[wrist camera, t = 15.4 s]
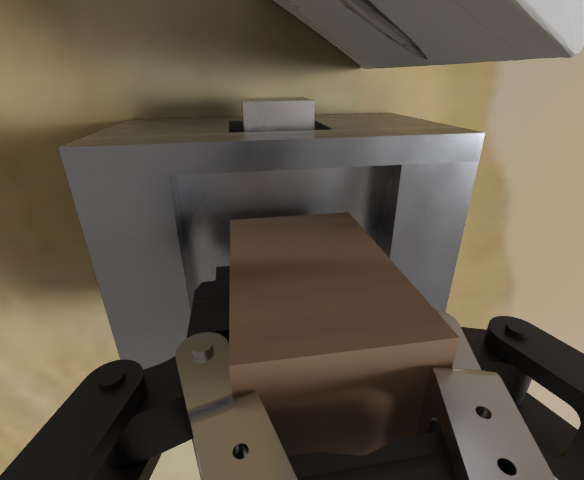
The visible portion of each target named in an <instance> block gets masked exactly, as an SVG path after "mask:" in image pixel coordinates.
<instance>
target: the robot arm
mask: <svg viewBox="0 0 584 480" xmlns="http://www.w3.org/2000/svg"><path fill="white" fill-rule="evenodd" d="M229 298H230V266H221V267H216V279H215V281H207V282H202V283H201V284H200V285H199V286H198V287H197V289H196V290H195V292H194V297H193V303H192V310H191V315H190V321H189V326H188V332H187V338H186V339H185V340H184V341H183V342H182V343H181V344H180V345H179V346H178V348H177V350H176V353H175V356H174V357H172V358H171V359H169V360H167V361H165V362H163V363H161V364H158V365H155V366H152V367H150V368H147V369H144V370H143V368H142V366H141V365H140V364H139V363H137V362H136V361H133V360H116V361H112V362H109V363H107V364H104V365H102V366H100V367H99V368H97V369H95V370H94V371H93V372H91V373H90V374H89V375H88V376H87V377H86V378H85V379H84V380H83V382H82V383H81V384H80V385H79V386H78V387H77V388H76V390H75V391H74V392H73V393H72V394H71V395H70V396H69V398H68V399H67V400H66V401H65V402H64V403H63V404H62V406H61V407H60V408H59V409H58V410H57V411H56V412H55V414H54V415H53V416H52V417H51V418H50V419H49V420H48V422H47V423H46V424H45V425H44V426H43V427H42V428H41V430H40V431H39V432H38V433H37V434H36V435H35V436H34V438H33V439H32V440H31V441H30V442H29V443H28V444H27V446H26V447H25V448H24V449H23V450H22V451H21V452H20V454H19V455H18V456H17V457H16V458H15V459H14V461H13V462H12V463H11V464H10V465H9V466H8V467H7V469H6V470H5V471H4V472H3V473H2V474H1V475H0V480H149V479H150V477H151V475H152V473H153V471H154V469H155V467H156V465H157V462H158V460H159V458H160V456H161V453H163V452H165V451H167V450H169V449H171V448H173V447H175V446H178V445H180V444H182V443H184V442H186V441H188V440H190V439H192V442H193V446H194V451H195V455H196V460H197V464H198V469H199V473H200V478H201V480H556V479H555V477H556V478H557V479H558V480H584V354H583V353H581V352H580V351H578V350H576V349H574V348H573V347H571V346H569V345H567V344H566V343H564V342H562V341H560V340H558V339H557V338H555V337H553V336H552V335H550V334H548V333H546V332H545V331H543V330H541V329H539V328H537V327H536V326H534V325H532V324H530V323H528V322H526V321H524V320H521V319H518V318H514V317H509V316H498V317H494V318H492V319H491V320H490V322H489V325H488V328H487V330H484V329H475V328H466V327H460V325H459V323H458V321H457V320H456V319H455V318H453V317H452V316H451V315H449V314H447V313H445V312H443V311H440V310H437V309H435V310H436V311H437V312H438V314H439V315H440V316H441V317H442V318H443V319H444V320H445V321H446V323H447V324H448V325H449V326H450V327H451V328H452V329H453V330H454V332H455V333H456V334H457V335H458V336H459V337H460V338H459V342H458V346H457V350H456V354H455V358H454V362H453V366H452V368H448V367H436V366H431V368H430V373H429V377H428V382H427V387H426V391H425V396H424V400H423V405H422V409H421V414H420V418H419V423H418V428H417V432H416V435H413V436H407V437H402V438H400V439H398V440H395V441H393V442H391V443H389V444H387V445H385V446H383V447H381V448H379V449H377V450H375V451H373V452H371V453H369V454H367V455H363V456H359V455H348V454H338V453H327V452H317V451H316V452H310V453H303V454H297V455H291V456H287V455H286V453H285V451H284V449H283V447H282V445H281V443H280V440H279V438H278V436H277V434H276V432H275V430H274V427H273V425H272V423H271V421H270V419H269V417H268V415H267V412H266V410H265V408H264V406H263V404H262V402H261V399H260V397H259V395H258V394H257V392H256V391H255V390H254V391H251V392H247V393H244V394H241V395H238V396H235V397H232V388H231V380H230V371H229ZM532 379H533V380H535V381H536V382H537V383H539V384H540V385H542V386H543V387H545V388H546V389H548V390H549V391H550V392H552V393H553V394H555V395H556V396H558V397H559V398H561V399H562V400H563V401H565V402H566V403H568V404H569V405H570V406H571V407H572V408H574V410H575V411H576V412H577V414H578V415H579V417H580V421H581V425H580V427H579V429H578V430H577V429H576V428H575V427H573V426H572V425H570V424H569V423H568V422H566V421H565V420H564V419H562V418H561V417H560V416H558V415H557V414H556V413H554V412H553V411H551V410H550V409H549V408H547V407H546V406H545V405H543V404H542V403H541V402H539V401H538V400H536V399H535V398H534V397H532V396H531V395H530V394H528V393H527V390H528V388H529V385H530V382H531V380H532Z"/></svg>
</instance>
